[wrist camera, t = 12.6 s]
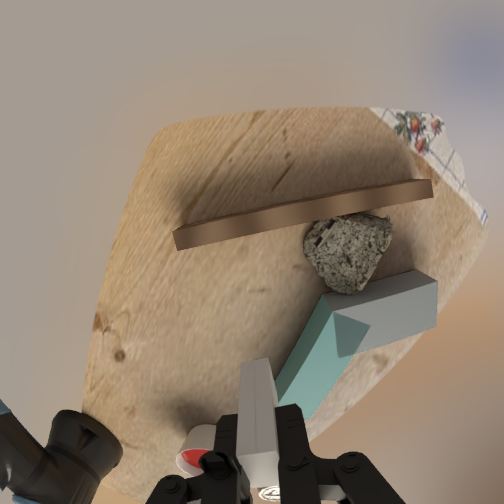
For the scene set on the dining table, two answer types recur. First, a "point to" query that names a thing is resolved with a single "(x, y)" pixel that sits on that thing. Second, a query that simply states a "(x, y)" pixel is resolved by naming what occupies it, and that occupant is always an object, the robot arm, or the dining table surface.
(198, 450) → the white cup
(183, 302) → the dining table surface
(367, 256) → the rock sample
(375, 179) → the dining table surface
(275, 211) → the walnut wall
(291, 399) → the grey teal angled block
